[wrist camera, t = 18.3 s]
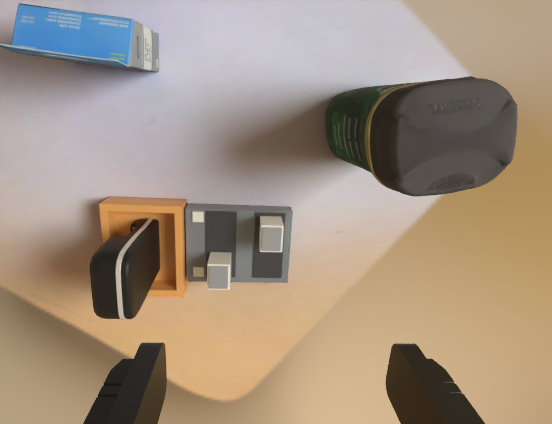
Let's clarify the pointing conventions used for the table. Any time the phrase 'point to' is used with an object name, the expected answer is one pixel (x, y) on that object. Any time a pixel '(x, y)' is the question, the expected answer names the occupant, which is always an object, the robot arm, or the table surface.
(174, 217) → the tray
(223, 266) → the block
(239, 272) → the panel
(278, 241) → the breaker
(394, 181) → the coffee jar
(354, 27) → the table surface
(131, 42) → the label tape box
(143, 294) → the battery charger
